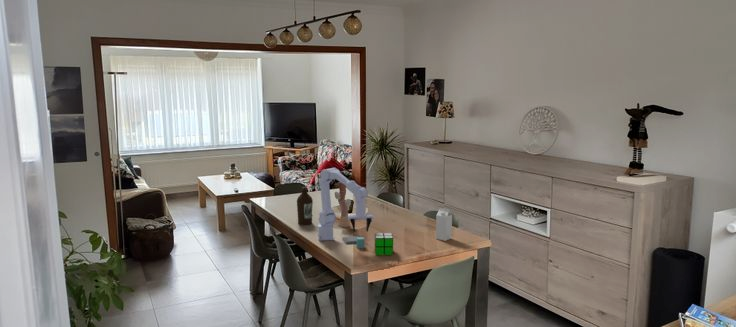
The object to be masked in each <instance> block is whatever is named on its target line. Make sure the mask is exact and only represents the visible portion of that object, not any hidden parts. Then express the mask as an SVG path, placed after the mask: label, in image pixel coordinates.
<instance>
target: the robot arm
mask: <svg viewBox="0 0 736 327" xmlns="http://www.w3.org/2000/svg"><path fill="white" fill-rule="evenodd" d="M319 176H320V179H319V187H320V196H321V198H320V199H321V211H319V214H318V215H319V216H318V222H319V224H318V225H317V228H318V229H317V237H318V242H319V241H335V236H334V224H335V222H336V221H337V217H336V214H335V211H334V209H333V208H332V202H331V201H332V200H331V190H330V183H331V182H332V181H333V180H336V181H338V182H341V183H343V184H344V185H345V186H346V190H348V191H349V192H350V193H352V194H353V196H354V198H355V199H354V200H355V214H354V215H348V220H349V222H350V223H351V225H352V226H351V227H352V229H353V232H354V233H355V232H356V221H355V220H365V221H366V227H365V228H366V229H365V230H366V232H369V228H370V225H371V223H372V220H373V219H374V215H373V214H367V213H366V207H367V206H366V204H367V202H366V201H367V200H366V199H367V196H368V193H369V192H368V189H367V188H366V187H365V186H361V185H358V184H357V182H356V181H355V180H349V178H347V177H346V176H344V175H343V174H342V172H340V169H338V168H336V167H331V168H326V169H325V168H324V169H322V170H321V172H320V175H319Z"/></svg>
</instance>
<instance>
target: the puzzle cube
mask: <svg viewBox="0 0 736 327" xmlns="http://www.w3.org/2000/svg"><path fill="white" fill-rule="evenodd" d="M374 254H375V256H394V235H393V233H392V232H384V233H382V232H378V233H377V232H376V233H374Z"/></svg>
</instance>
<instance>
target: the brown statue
mask: <svg viewBox="0 0 736 327" xmlns="http://www.w3.org/2000/svg"><path fill="white" fill-rule="evenodd" d="M338 189H339V191H334V198H335V199H336V200H337V202H338V205H339V207H340V212H341V213H340V214H341V215H340V218H339V221H338V227H339V228H347V227H348V228H349V227H350V225H351V224H350V223H351V221H350V220H348V216H349V208H350V206H351V199H350V198H347V199H346V194H347V188H346V185H344V184H343V183H341V182H340V181H338ZM345 199H346V200H345Z"/></svg>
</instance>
